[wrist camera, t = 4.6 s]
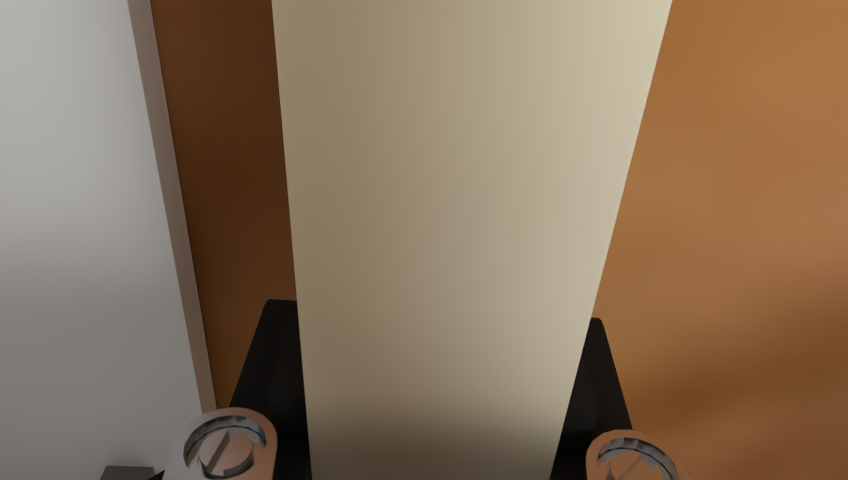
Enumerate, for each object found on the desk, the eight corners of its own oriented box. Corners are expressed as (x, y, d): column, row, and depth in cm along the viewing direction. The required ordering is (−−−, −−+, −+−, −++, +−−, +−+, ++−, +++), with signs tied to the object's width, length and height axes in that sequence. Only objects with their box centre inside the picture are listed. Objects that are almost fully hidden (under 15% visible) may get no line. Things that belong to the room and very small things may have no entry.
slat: (639, -589, 7) (955, -1109, 3) (464, 556, 20) (469, 789, 16) (344, -609, 7) (172, -1153, 3) (361, 550, 20) (337, 782, 16)
